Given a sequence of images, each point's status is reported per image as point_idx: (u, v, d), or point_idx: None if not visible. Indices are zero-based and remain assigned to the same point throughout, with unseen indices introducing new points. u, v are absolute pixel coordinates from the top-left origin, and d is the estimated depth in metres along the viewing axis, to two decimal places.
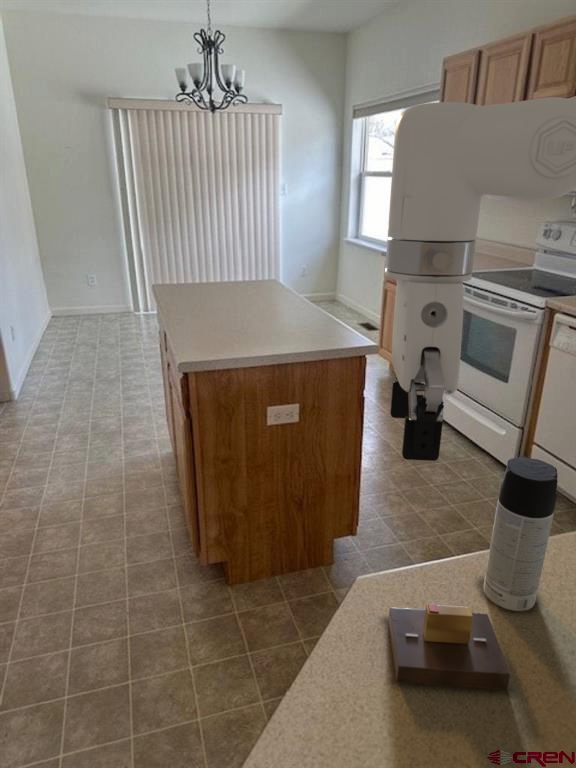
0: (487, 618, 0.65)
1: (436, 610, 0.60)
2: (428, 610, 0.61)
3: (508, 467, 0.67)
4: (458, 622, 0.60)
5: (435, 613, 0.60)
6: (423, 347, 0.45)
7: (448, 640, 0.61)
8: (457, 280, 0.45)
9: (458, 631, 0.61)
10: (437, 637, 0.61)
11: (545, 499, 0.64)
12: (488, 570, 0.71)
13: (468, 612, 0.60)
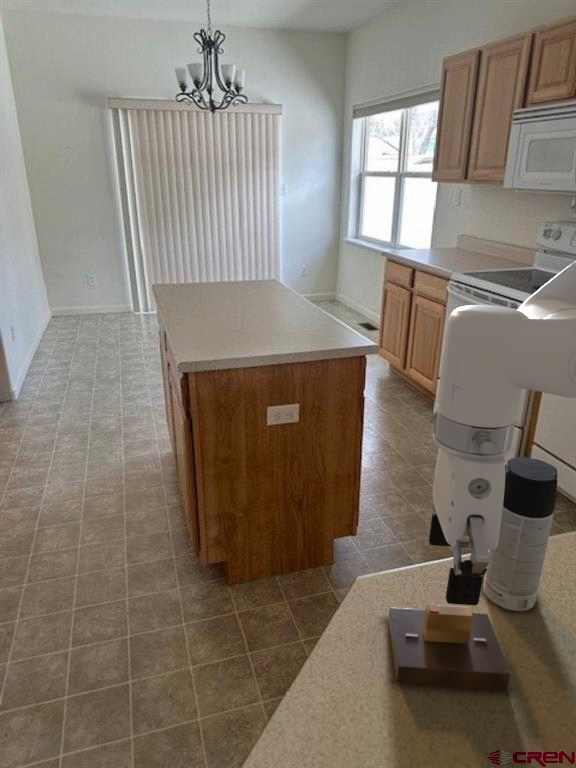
0: (487, 618, 0.65)
1: (436, 610, 0.60)
2: (428, 610, 0.61)
3: (508, 467, 0.67)
4: (458, 622, 0.60)
5: (435, 613, 0.60)
6: (469, 514, 0.51)
7: (448, 640, 0.61)
8: (500, 457, 0.51)
9: (458, 631, 0.61)
10: (437, 637, 0.61)
11: (545, 499, 0.64)
12: (488, 570, 0.71)
13: (468, 612, 0.60)
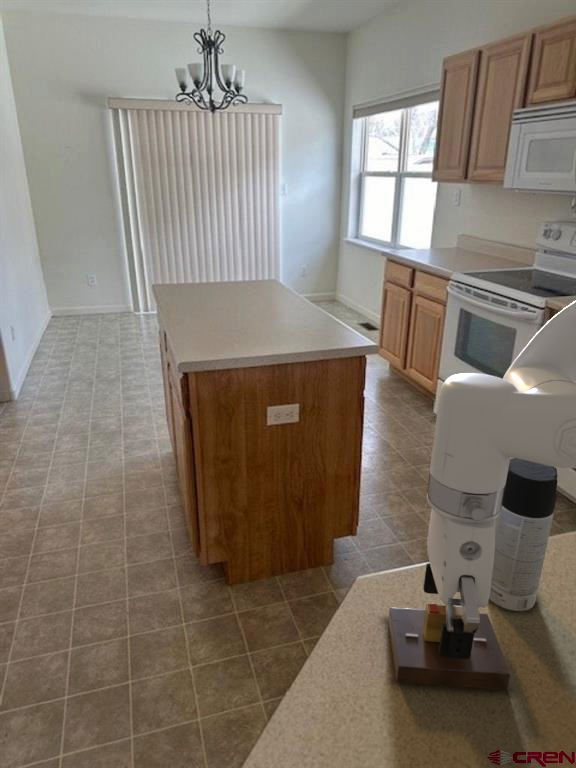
0: (487, 618, 0.65)
1: (436, 610, 0.60)
2: (428, 610, 0.61)
3: None
4: None
5: (435, 613, 0.60)
6: (460, 575, 0.53)
7: None
8: (490, 520, 0.53)
9: None
10: (437, 637, 0.61)
11: (545, 499, 0.64)
12: None
13: None
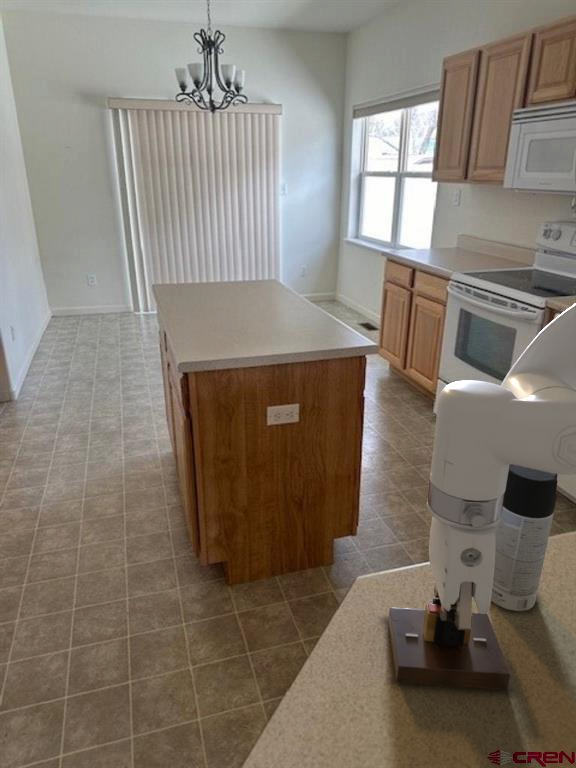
0: (487, 618, 0.65)
1: (436, 610, 0.60)
2: (428, 610, 0.61)
3: None
4: None
5: (435, 613, 0.60)
6: (460, 588, 0.54)
7: None
8: (490, 527, 0.53)
9: None
10: None
11: (545, 499, 0.64)
12: None
13: None
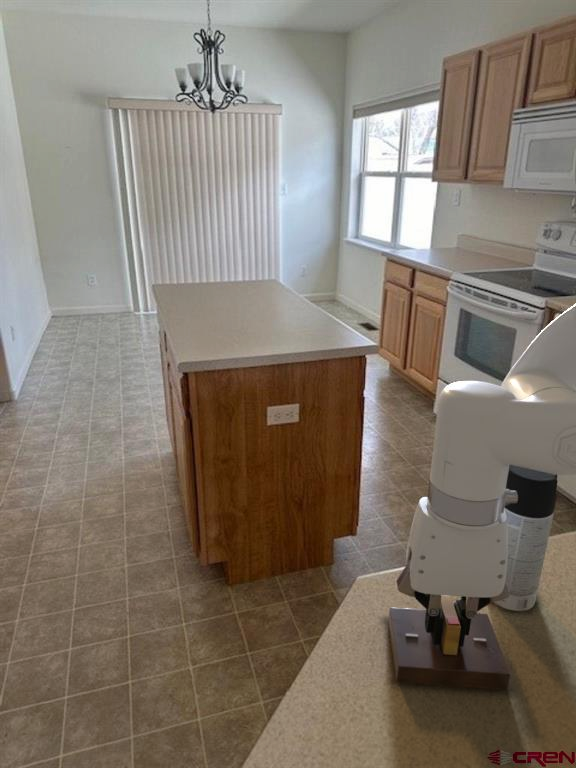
0: (487, 618, 0.65)
1: (456, 618, 0.59)
2: (456, 626, 0.59)
3: None
4: None
5: (457, 621, 0.59)
6: None
7: None
8: None
9: None
10: None
11: (545, 499, 0.64)
12: None
13: (447, 597, 0.63)
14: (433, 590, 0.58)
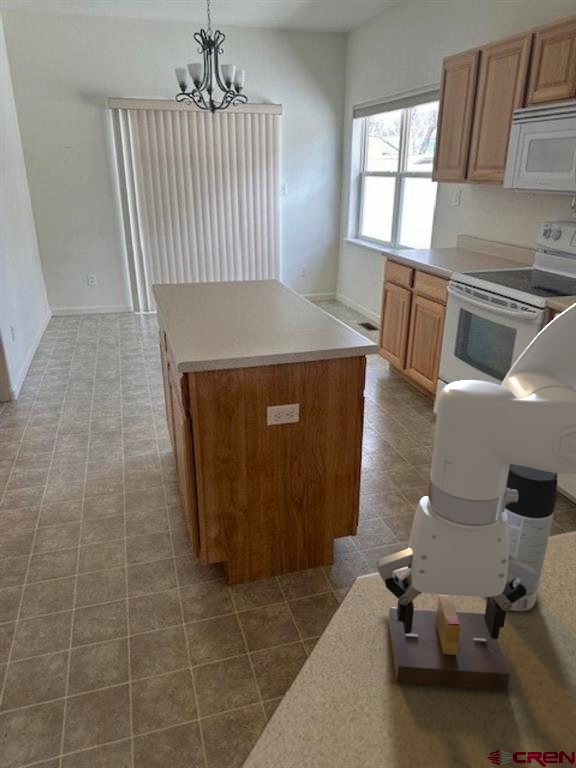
0: None
1: (456, 618, 0.59)
2: (456, 626, 0.59)
3: None
4: None
5: (457, 621, 0.59)
6: None
7: None
8: None
9: None
10: None
11: (545, 499, 0.64)
12: None
13: (447, 597, 0.63)
14: (434, 590, 0.58)
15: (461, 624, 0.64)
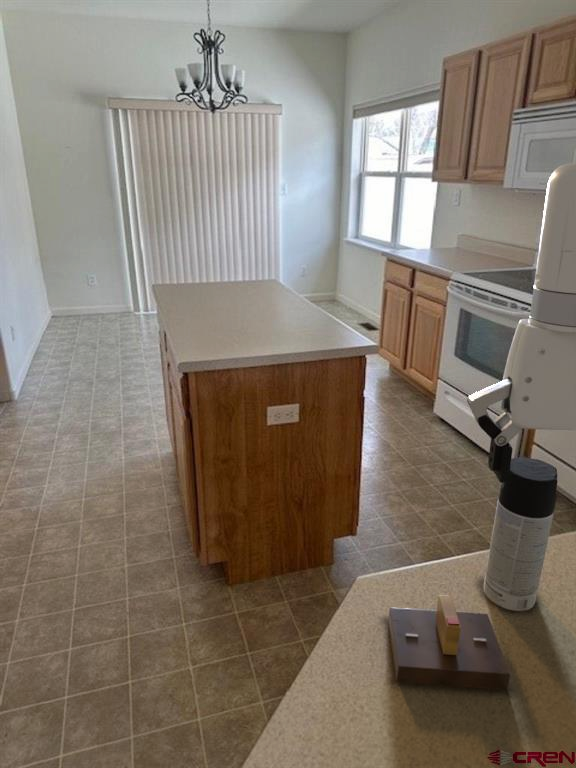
0: (487, 618, 0.65)
1: (456, 618, 0.59)
2: (456, 626, 0.59)
3: None
4: None
5: (457, 621, 0.59)
6: None
7: None
8: None
9: None
10: None
11: (545, 499, 0.64)
12: (488, 570, 0.71)
13: (447, 597, 0.63)
14: (539, 422, 0.50)
15: (461, 624, 0.64)
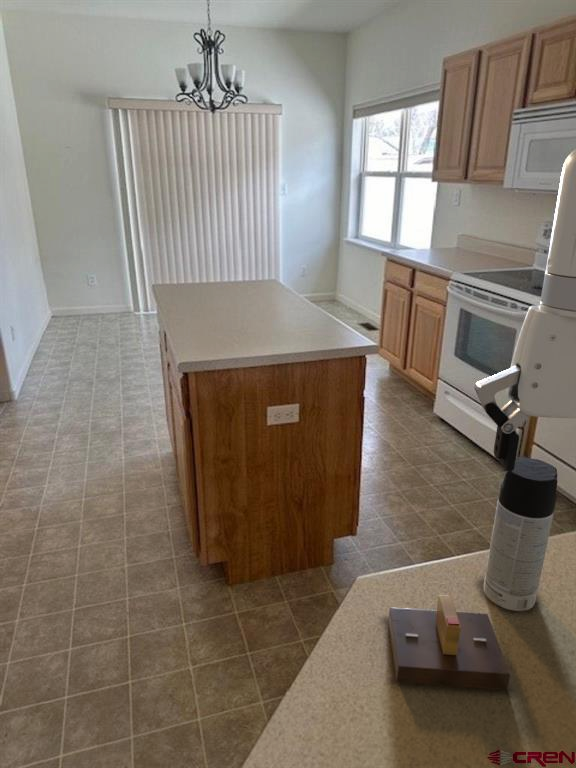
0: (487, 618, 0.65)
1: (456, 618, 0.59)
2: (456, 626, 0.59)
3: None
4: None
5: (457, 621, 0.59)
6: None
7: None
8: None
9: None
10: None
11: (545, 499, 0.64)
12: (488, 570, 0.71)
13: (447, 597, 0.63)
14: (547, 410, 0.49)
15: (461, 624, 0.64)
